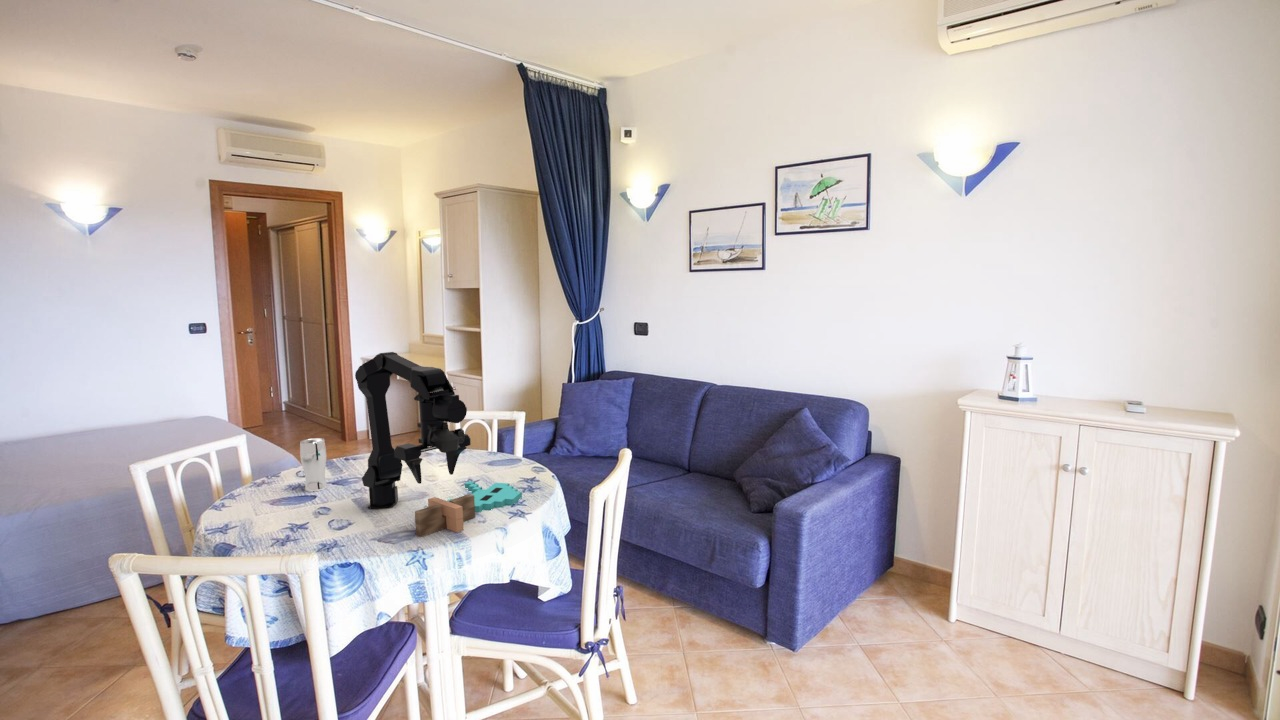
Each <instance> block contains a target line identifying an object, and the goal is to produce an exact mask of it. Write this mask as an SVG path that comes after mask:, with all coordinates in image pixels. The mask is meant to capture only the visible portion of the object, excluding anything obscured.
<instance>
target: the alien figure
mask: <svg viewBox="0 0 1280 720" xmlns="http://www.w3.org/2000/svg"><path fill="white" fill-rule="evenodd" d="M465 488H468V489H467V490H468V491H472V492H471V493H470V494H471V495H474V500H475V513H476V512H480V513H481V512H482V510H483V511H492V510H493V509H495V508H496V507H502V508H504V507H505V506H514V505H515V504H517V503H518V502H519V501H520V500H521V499H522V498H523V491H521V490H520V491H518V488H514V485H510V483H509V482H508V483H507V482H495V483H493V484H492V485H490V486H489V487H488V488H486V489H483V486H479V484H478V483H476V481H473V480H471V481H470V480H469V481H467V482H465V483H464V489H465ZM521 497H522V498H521ZM520 498H521V499H520ZM452 499H453V498H449V499H447V500H446V501H448V502H449V500H452ZM519 499H520V500H519ZM518 500H519V501H518ZM514 503H515V504H514ZM513 504H514V505H513ZM504 505H505V506H504ZM503 506H504V507H503ZM491 509H492V510H491Z"/></svg>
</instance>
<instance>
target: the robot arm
mask: <svg viewBox="0 0 1280 720" xmlns="http://www.w3.org/2000/svg"><path fill="white" fill-rule="evenodd" d="M354 375H355V380H356V382H357V387H358V390H360V392H361V393H362V394H363V396H364V397H365V399H366V405H367V407H366V408H367V416H368V423H369V430H370V439H371V444H372V450H371V451H370V454H369V456H368V459H367V469H366V471H364V474H363V476H362V478H361V481H362V484H363V485H362V486H364V487H366V488H368V494H369V495H368V496H369V505H368V506H367V509H369V510H371V509H384V508H386V509H387V508H388V509H389V508H393V507H394V506H395V505H396V503H397V502H398V501H399V492H398V491H399V490H398V485H396V482H399V481H401V477H402V471H403V462H404V463H405V465H406V466H407V467H408V468H409V470H410V472H411V474H412V475H413V477H414V479H415V481H416V482H417V484H422V469H421V463H422V461H423V458H422V457H421V456H422V453H425V452H429V451H433V450H438V451H439V452H440V453H443V454H445V458H446V466H447V470H448V473H449V475H454V473H455V469H456V466H457V462H458V459H459V457H460V454H461V453H463V452H464V451H465V450H467V448H468V446H471V444H472V443H471V442H472V441H471V437H470V436H469V435H468V434H466V433H465V430H464V429H463V428H456V429H454V430H450V429H449V425H448V423H450V424H451V423H452V424H459V423H462V422H463V421H464V419H465V418H466V416H467V414H468V413H467V411H468V410H467V409H468V408H467V406H466V404H465V402H464V401H462V400H460V395H459V394H455V393H456V392H455V391H454V387H453V386H452V384H451V383H450V381H449V379H448V377H447V375H446V374H445V371H444V370H443V369H442V368H439V367H433V366H422V365H419V364H417V363H415V362H413V361H411V360H410V359H407V358H404V357H403V356H400V355H399V354H398V353H397V352H394V351H388V352H380V353H378V354H376V355H375V356H374V357H373V358H372V359H370V360H368V361H366V362H364V363H362V365H359V366H358V368H357V370H356V371H355V374H354ZM393 375H396V376H398V377H400V378H402V379H404V380H406V381H408V382H409V384H410V388H412V390H414V391H415V392H416V393H417V394H416V395H415V397H414V398H413V400H414V401H416V402H417V401H418V407H419V421H420V422H417V427H418V428H420V438H418V443H419V444H418V445H416V444H412V443H405V444H400V445H396V446H395V448H394V447H393V444H392V437H391V436H392V435H391V428H390V422H389V413H388V405H387V397H386V394H387V393H388V391H389V388H390V386H391V377H392V376H393ZM402 461H403V462H402Z"/></svg>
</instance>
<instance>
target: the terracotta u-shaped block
mask: <svg viewBox="0 0 1280 720" xmlns="http://www.w3.org/2000/svg"><path fill="white" fill-rule="evenodd" d="M427 505H428V506H427V507H430V506H433V505H440V506H442V515H444V516H446V522H447V528H446V529H447V530H448V531H451V532H454V533H459V532H463V531H464V522H463V509H462V506H460V505H457V504H454V503H451V502H448V501H447V500H444V499H442V498H439V497H436V496H433V497H431V498H430V497H429V498H427Z"/></svg>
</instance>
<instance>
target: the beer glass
mask: <svg viewBox="0 0 1280 720" xmlns="http://www.w3.org/2000/svg"><path fill="white" fill-rule="evenodd" d="M325 442H326V441H325V438H324V437H323V438H322V437H315V438H307V439H302V440H301V441H299V443H300V444H299V456H300V461H301V466H302V470H303V475H304V479H305V484H304V491H305V492H307V491H308V493H314V492H313V491H316V492H320V491H323V490H326V489H327V488H328V484H327V481H326V468H327V467H326V466H327V465H326V464H327V448H326V443H325Z"/></svg>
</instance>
